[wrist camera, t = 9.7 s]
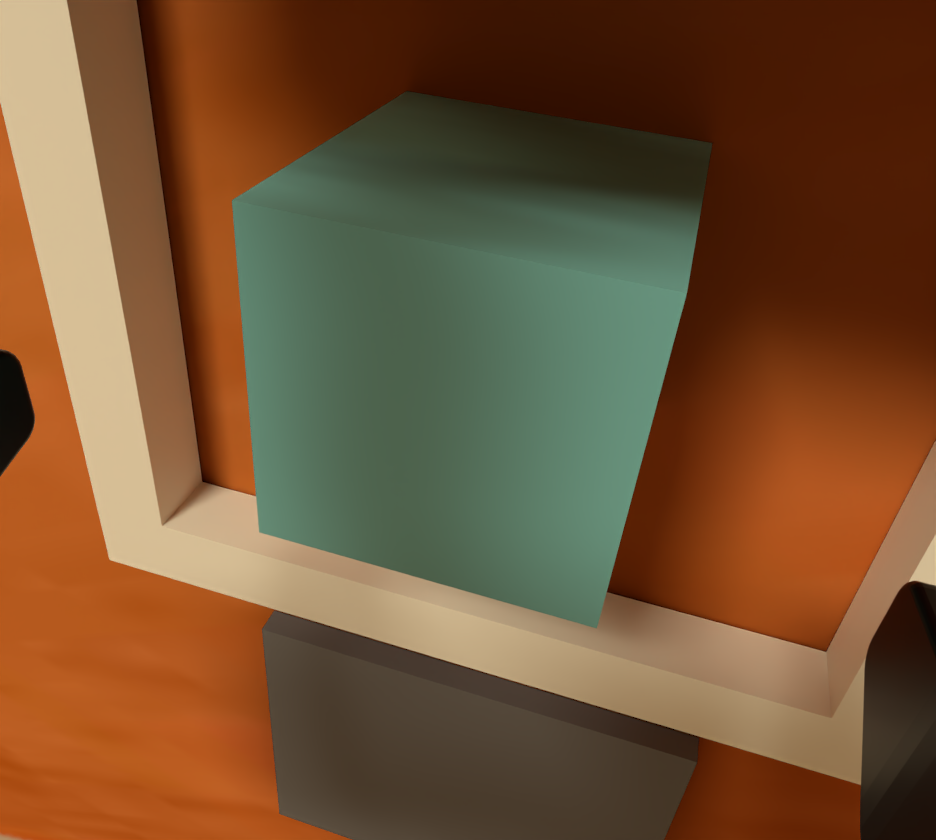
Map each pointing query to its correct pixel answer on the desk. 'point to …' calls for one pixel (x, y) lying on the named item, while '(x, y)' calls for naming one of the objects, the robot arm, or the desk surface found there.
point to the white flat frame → (316, 571)
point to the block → (465, 341)
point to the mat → (455, 749)
